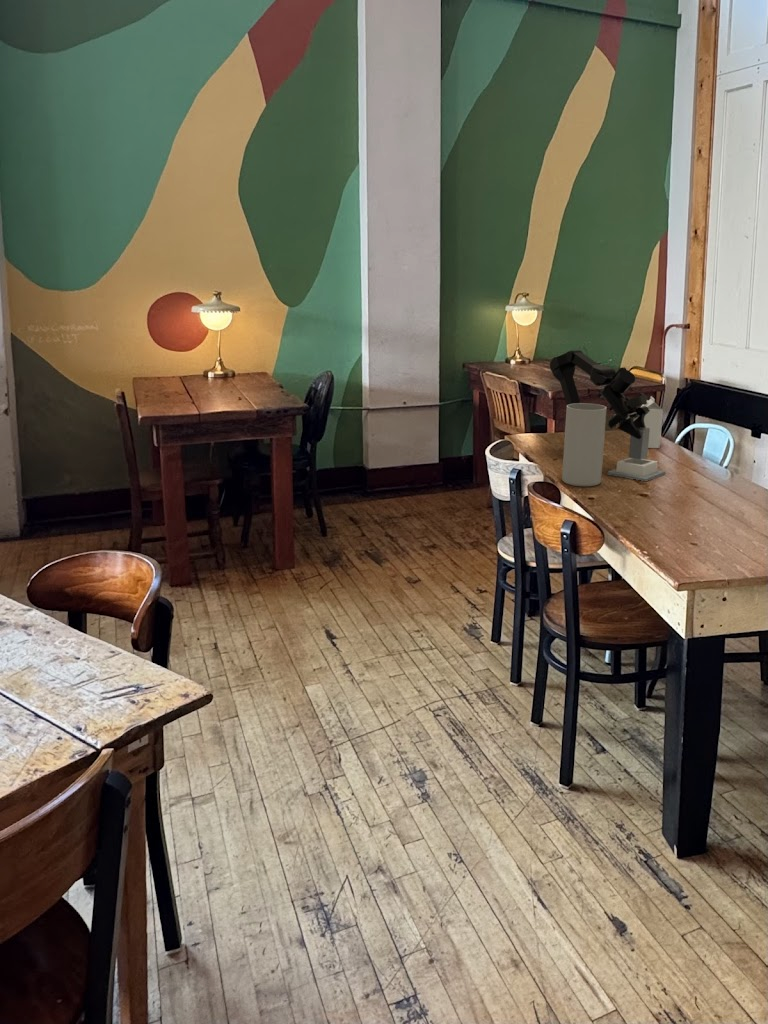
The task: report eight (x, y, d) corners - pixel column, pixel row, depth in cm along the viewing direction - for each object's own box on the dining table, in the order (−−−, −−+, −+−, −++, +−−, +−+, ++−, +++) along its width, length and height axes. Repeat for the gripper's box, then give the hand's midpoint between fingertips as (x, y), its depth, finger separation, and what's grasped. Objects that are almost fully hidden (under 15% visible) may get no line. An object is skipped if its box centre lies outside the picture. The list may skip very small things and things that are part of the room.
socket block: (645, 481, 290) (646, 468, 289) (607, 474, 299) (608, 461, 298) (665, 474, 300) (666, 461, 299) (628, 467, 309) (629, 454, 308)
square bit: (640, 459, 295) (643, 430, 292) (628, 457, 298) (631, 428, 295) (647, 457, 298) (649, 428, 295) (635, 455, 301) (637, 426, 298)
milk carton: (655, 444, 344) (660, 396, 339) (659, 448, 337) (664, 399, 332) (637, 444, 345) (641, 395, 339) (640, 448, 338) (644, 399, 333)
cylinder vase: (572, 488, 282) (578, 411, 275) (555, 478, 294) (559, 404, 287) (607, 485, 286) (613, 409, 278) (589, 476, 297) (594, 402, 290)
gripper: (619, 388, 287) (647, 427, 283) (646, 382, 300) (674, 419, 296) (596, 409, 295) (623, 447, 291) (624, 402, 308) (650, 438, 304)
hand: (643, 437), depth 295 cm, fingers closed on square bit, 4 cm apart
